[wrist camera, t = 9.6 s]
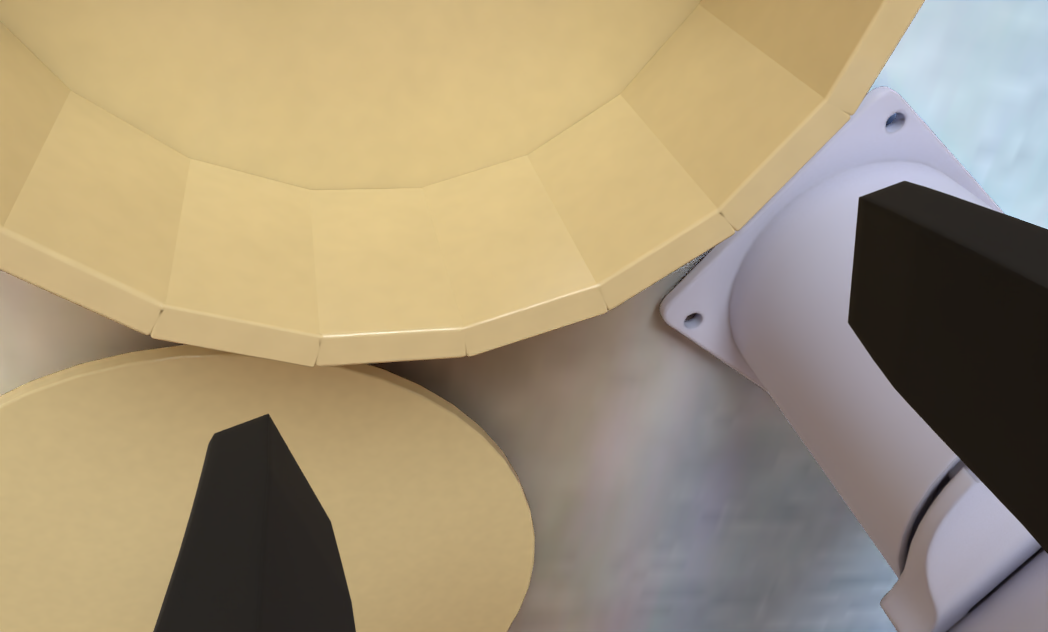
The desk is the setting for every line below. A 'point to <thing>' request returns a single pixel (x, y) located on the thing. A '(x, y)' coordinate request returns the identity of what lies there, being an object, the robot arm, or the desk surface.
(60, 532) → the pot lid
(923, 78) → the desk surface
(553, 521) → the desk surface
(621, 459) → the desk surface
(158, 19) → the pot
